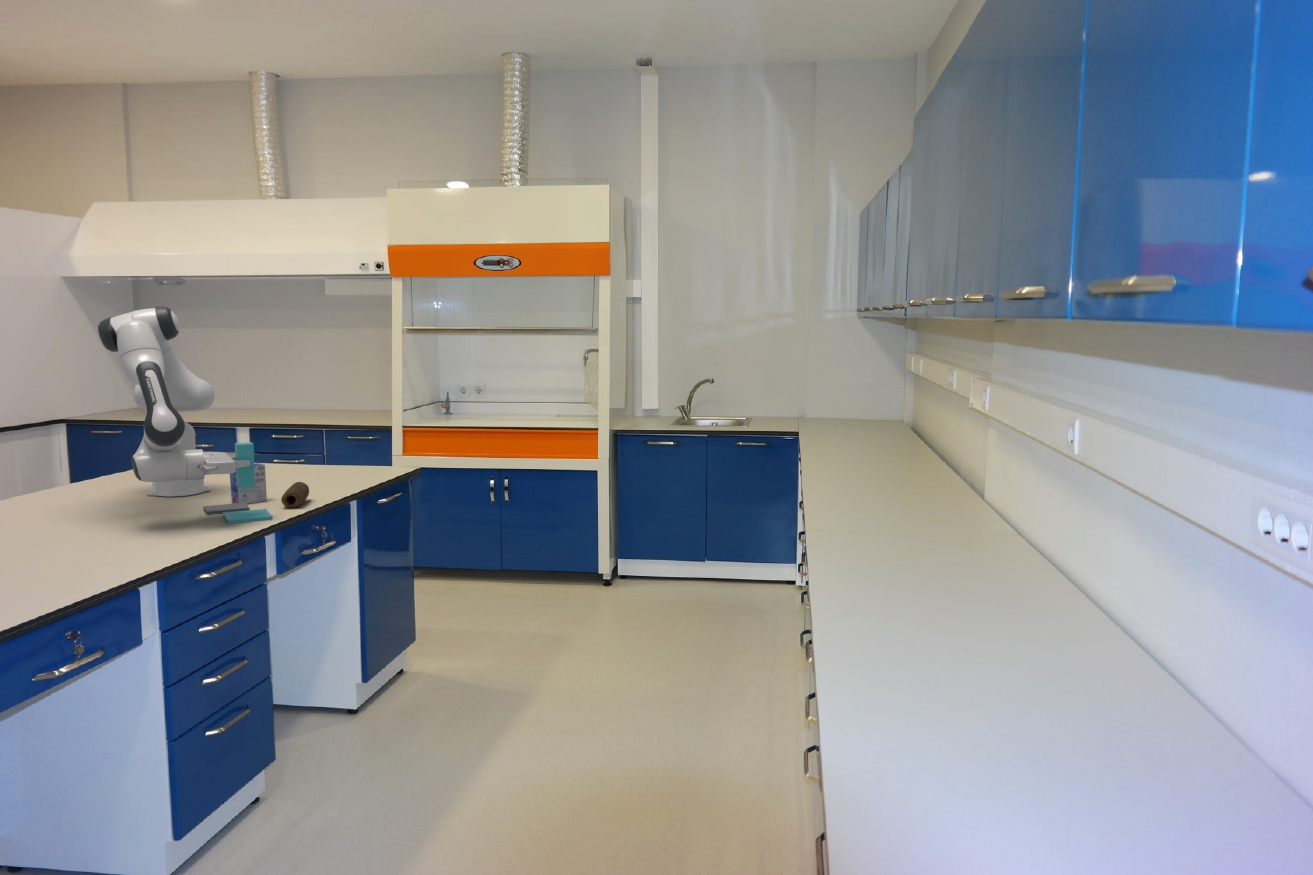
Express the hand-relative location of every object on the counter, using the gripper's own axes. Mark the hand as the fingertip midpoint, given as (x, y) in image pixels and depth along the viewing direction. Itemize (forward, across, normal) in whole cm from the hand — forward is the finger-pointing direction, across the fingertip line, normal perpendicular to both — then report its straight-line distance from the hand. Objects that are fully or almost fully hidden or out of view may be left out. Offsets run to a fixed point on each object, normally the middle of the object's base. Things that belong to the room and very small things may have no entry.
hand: (248, 461), depth 271 cm
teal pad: (-1, 0, +17) cm, 17 cm away
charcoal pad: (-5, +14, +17) cm, 23 cm away
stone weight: (+16, +14, +17) cm, 27 cm away
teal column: (-1, 0, +8) cm, 8 cm away
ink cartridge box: (+3, +24, +17) cm, 30 cm away
